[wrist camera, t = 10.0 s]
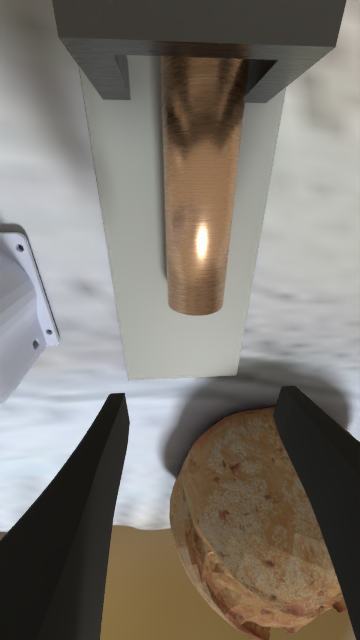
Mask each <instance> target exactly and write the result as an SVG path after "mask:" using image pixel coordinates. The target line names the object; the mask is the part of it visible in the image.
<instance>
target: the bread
mask: <svg viewBox="0 0 360 640" xmlns="http://www.w3.org/2000/svg"><path fill="white" fill-rule="evenodd" d="M275 407H276V406H274V407H269V408H263V409H253V410H247V411H242V412H237V413H235V414H232V415H229V416H226V417H224V418H223V419H221V420H220V421H218V422H217V423H215V424H214V425H212V426H211V427H210V428H209V429H207V430H206V431H205V432H204V433H203V434H202V435H201V436H200V437H199V438H198V439H197V440H196V441H195V443H194V444H193V445H192V447H191V449H190V451H189V452H188V455H187V457H186V459H185V461H184V463H183V465H182V467H181V471H180V473H179V475H178V477H177V479H176V481H175V484H174V486H173V490H172V494H171V498H170V526H171V532H172V536H173V539H174V542H175V546H176V549H177V551H178V554H179V557H180V559H181V562H182V564H183V566H184V569H185V571H186V573H187V575H188V577H189V579H190V581H191V582H192V583H193V585H194V586H195V587H196V589H197V590H198V592H199V593H200V594H201V595H202V597H203V598H204V599H205V600H206V601H207V603H208V604H209V605H210V606H211V608H212V609H214V610H215V611H216V612H217V613H218V614H219V615H221V616H222V617H223V618H224V619H225V620H226V621H227V622H228V623H230V624H231V625H232V626H233V627H234V628H235V629H237V630H239V631H241V632H242V633H244V634H246V635H247V636H249V637H250V638H252V639H254V640H269V638H270V632H269V631H270V629H271V627H281V628H282V629H283V630H284V631H286V632H287V633H295V632H297V631H298V630H299V629H300V628H301V627H303V626H305V625H307V624H309V623H310V622H311V621H312V620H313V619H314V618H316V617H318V616H319V615H320V614H322V613H324V612H326V611H327V610H329V609H331V608H332V607H334V608H335V609H336V610H337V611H338V612H343V611H346V612H348V611H347V607H346V604H345V601H344V598H343V594H342V591H341V588H340V585H339V582H338V579H337V576H336V573H335V570H334V567H333V564H332V561H331V558H330V555H329V553H328V550H327V547H326V544H325V541H324V538H323V536H322V533H321V530H320V527H319V525H318V522H317V519H316V517H315V514H314V511H313V509H312V506H311V504H310V501H309V499H308V497H307V494H306V492H305V490H304V488H303V486H302V484H301V481H300V479H299V477H298V475H297V473H296V471H295V469H294V467H293V464H292V462H291V460H290V458H289V456H288V454H287V452H286V449H285V447H284V445H283V443H282V441H281V439H280V436H279V433H278V430H277V427H276V424H275V421H274V418H273V413H274V410H275ZM342 428H343V427H342ZM343 429H344V428H343ZM344 430H345V429H344ZM346 431H347V430H346ZM347 432H348V431H347ZM348 433H349V432H348ZM349 434H350V433H349ZM350 435H351V434H350Z"/></svg>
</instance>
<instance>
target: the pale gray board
mask: <svg viewBox="0 0 360 640" xmlns="http://www.w3.org/2000/svg"><path fill="white" fill-rule="evenodd" d="M126 56H127V60H128V69H129V82H130V94H131V100H103V99H102V98H101V96H100V95H99V93H98V92H97V91H96V89H95V88H94V86H93V85H92V84H91V82H90V81H89V79H88V78H87V76H86V75H85V74H84V72H83V71H82V69H81V68H80V67H79V71H80V77H81V83H82V90H83V96H84V103H85V109H86V115H87V122H88V128H89V134H90V141H91V147H92V153H93V160H94V166H95V172H96V179H97V185H98V192H99V198H100V204H101V211H102V217H103V223H104V230H105V236H106V242H107V249H108V255H109V262H110V268H111V274H112V281H113V287H114V293H115V300H116V306H117V312H118V319H119V325H120V331H121V338H122V344H123V351H124V357H125V363H126V370H127V376H128V380H144V379H167V378H190V377H213V376H235V375H237V370H238V364H239V358H240V352H241V346H242V340H243V335H244V329H245V323H246V317H247V311H248V306H249V300H250V294H251V288H252V282H253V277H254V271H255V265H256V259H257V253H258V248H259V242H260V236H261V230H262V224H263V219H264V213H265V207H266V201H267V195H268V190H269V184H270V178H271V172H272V166H273V161H274V155H275V149H276V143H277V137H278V132H279V126H280V120H281V114H282V108H283V103H284V97H285V91H286V87H285V88H284V89H283V90H282V91H280V92H279V93H278V94H277V95H276V96H274V97H273V98H272V99H271V100H269V101H268V102H267V103H245V108H244V117H243V126H242V135H241V144H240V154H239V163H238V172H237V181H236V190H235V200H234V209H233V218H232V227H231V236H230V246H229V255H228V264H227V273H226V282H225V292H224V301H223V307H222V308H221V309H220V310H219V311H217V312H215V313H213V314H209V315H203V316H192V315H185V314H181V313H178V312H176V311H174V310H172V309H171V308H170V307H169V305H168V293H167V258H166V223H165V189H164V154H163V119H162V84H161V56H140V55H126Z"/></svg>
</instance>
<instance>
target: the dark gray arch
mask: <svg viewBox="0 0 360 640" xmlns="http://www.w3.org/2000/svg"><path fill="white" fill-rule="evenodd" d="M52 2H53V7H54V13H55V19H56V24H57V30H58V35H59V38H60V40H61V41H62V42H63V44H64V45H65V47H66V48H67V49H68V51H69V52H70V54H71V55H72V57H73V58H74V59H75V61H76V62H77V64H78V65H79V67H80V68H81V69H82V71H83V72H84V74H85V75H86V76H87V78H88V79H89V81H90V82H91V84H92V85H93V86H94V88H95V89H96V91H97V92H98V93H99V95H100V96H101V98H102V99H103V100H131V94H130V82H129V69H128V60H127V56H126V55H140V56H171V57H203V58H234V59H250V62H249V71H248V80H247V89H246V98H245V103H267V102H268V101H269V100H271V99H272V98H273V97H274V96H276V95H277V94H278V93H279V92H280V91H282V90H283V89H284V88H285V87H287V86H288V85H289V84H290V83H292V82H293V81H294V80H295V79H297V78H298V77H299V76H300V75H301V74H303V73H304V72H305V71H306V70H308V69H309V68H310V67H311V66H313V65H314V64H315V63H316V62H318V61H319V60H320V59H321V58H322V57H324V56H325V55H326V54H327V53H329V52H330V51H331V50H332V49H334V48H335V46H336V42H337V38H338V34H339V30H340V25H341V21H342V17H343V13H344V8H345V4H346V0H52Z"/></svg>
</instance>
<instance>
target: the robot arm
mask: <svg viewBox="0 0 360 640" xmlns="http://www.w3.org/2000/svg"><path fill="white" fill-rule="evenodd" d="M19 244H20V245H22V246H23V248H24V251H23V250H21V249H20V248H19ZM48 330H51V331H52V332H50V331H48ZM59 342H60V338H59V335H58V332H57V329H56V326H55V323H54V320H53V317H52V314H51V311H50V308H49V305H48V302H47V299H46V295H45V292H44V289H43V286H42V283H41V280H40V277H39V274H38V271H37V268H36V265H35V262H34V259H33V256H32V253H31V249H30V246H29V243H28V240H27V238H26V236H25V235H24V234H22V233H19V232H0V405H2V404H3V403H4V402H5V401H6V400H7V399H8V398H9V397H10V396H11V395H12V393H13V392H14V391H15V389H16V388H17V387H18V385H19V384H20V382H21V381H22V380H23V378H24V377H25V376H26V374H27V373H28V371H29V370H30V369H31V367H32V366H33V365H34V363H35V362H36V361H37V359H38V358H39V356H40V355H41V354H42V352H43V351H44V350H45V348H46V347H47V346H56V345H58V343H59ZM273 418H274V421H275V424H276V427H277V430H278V433H279V436H280V439H281V441H282V443H283V445H284V447H285V449H286V452H287V454H288V456H289V458H290V460H291V462H292V464H293V467H294V469H295V471H296V473H297V475H298V477H299V479H300V481H301V484H302V486H303V488H304V490H305V492H306V494H307V497H308V499H309V501H310V504H311V506H312V509H313V511H314V514H315V517H316V519H317V522H318V525H319V527H320V530H321V533H322V536H323V538H324V541H325V544H326V547H327V550H328V553H329V555H330V558H331V561H332V564H333V567H334V570H335V573H336V576H337V579H338V582H339V585H340V588H341V591H342V594H343V598H344V601H345V604H346V607H347V611H348V614H349V617H350V620H351V624H352V627H353V630H354V634H355V637H356V640H360V442H359V441H358V440H356V439H355V438H354V437H353V436H352V435H350V434H349V433H348V432H347V431H346V430H344V429H343V428H342V427H341V426H340V425H338V424H337V423H336V422H335V421H334V420H333V419H331V418H330V417H329V416H328V415H327V414H326V413H325V412H324V411H322V410H321V409H320V408H319V407H318V406H317V405H316V404H315V403H313V402H312V401H311V400H310V399H309V398H308V397H307V396H306V395H305V394H303V393H302V392H301V391H300V390H299V389H298V388H297V387H295V386H283V387H282V388H281V391H280V394H279V397H278V400H277V404H276V407H275V410H274V413H273ZM129 424H130V421H129V415H128V410H127V404H126V398H125V393H113V394H110V395H109V396H108V398H107V400H106V401H105V403H104V405H103V407H102V409H101V410H100V412H99V414H98V415H97V417H96V419H95V420H94V422H93V423H92V425H91V427H90V428H89V430H88V431H87V433H86V434H85V436H84V437H83V439H82V440H81V442H80V443H79V445H78V446H77V448H76V449H75V450H74V452H73V453H72V455H71V456H70V457H69V459H68V460H67V462H66V463H65V464H64V466H63V467H62V468H61V470H60V471H59V472H58V474H57V475H56V476H55V478H54V479H53V480H52V481H51V483H50V484H49V485H48V486H47V488H46V489H45V490H44V491H43V492H42V494H41V495H40V496H39V497H38V498H37V500H36V501H35V502H34V503H33V504H32V505H31V507H30V508H29V509H28V510H27V511H26V512H25V514H24V515H23V516H22V517H21V518H20V519H19V520H18V522H17V523H16V524H15V525H14V526H13V527H12V528H11V529H10V530H9V532H8V533H7V534H6V535H5V536H4V537H3V538H2V539H1V540H0V640H100V632H101V622H102V612H103V603H104V593H105V583H106V574H107V565H108V557H109V548H110V540H111V532H112V524H113V517H114V511H115V505H116V500H117V495H118V490H119V485H120V480H121V475H122V470H123V465H124V460H125V455H126V450H127V444H128V435H129Z"/></svg>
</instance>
